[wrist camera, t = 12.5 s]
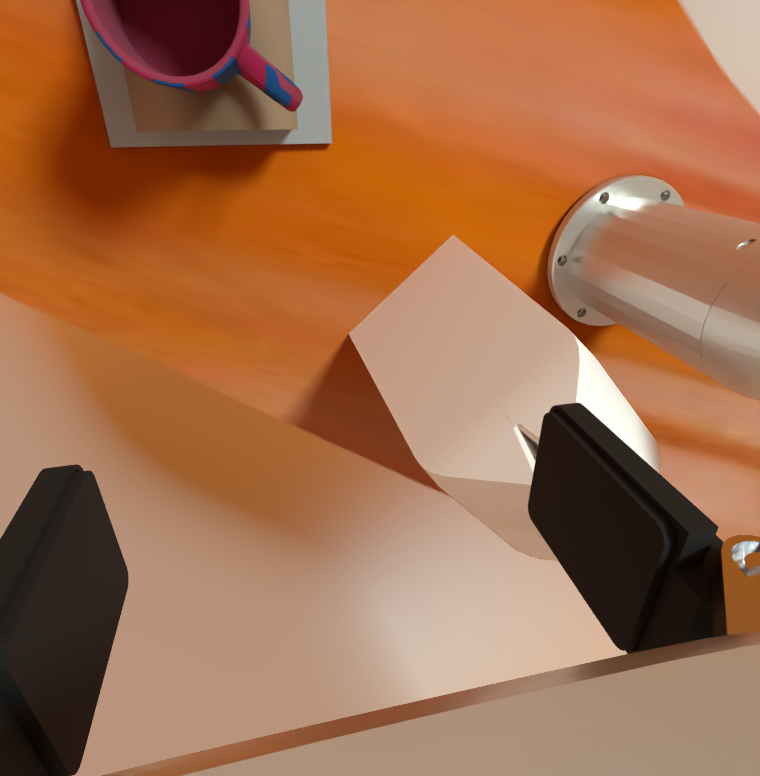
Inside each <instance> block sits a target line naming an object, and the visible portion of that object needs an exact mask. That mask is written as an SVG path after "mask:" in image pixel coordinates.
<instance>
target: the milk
mask: <svg viewBox="0 0 760 776" xmlns="http://www.w3.org/2000/svg"><path fill="white" fill-rule="evenodd" d="M349 336H350V338H351V339H352V341H353V343H354V345H355V347H356V349H357V351H358V352H359V354H360V356H361V358H362V360H363V362H364V364H365V365H366V367H367V369H368V371H369V373H370V375H371V377H372V379H373V380H374V382H375V384H376V386H377V388H378V390H379V392H380V393H381V395H382V397H383V399H384V401H385V403H386V405H387V406H388V408H389V410H390V412H391V414H392V416H393V418H394V420H395V421H396V423H397V425H398V427H399V429H400V431H401V433H402V434H403V436H404V438H405V440H406V442H407V444H408V446H409V447H410V449H411V451H412V453H413V455H414V457H415V459H416V460H417V461H418V463H419V464H420V465H421V466H422V468H423V469H424V470H425V471H426V472H427V473H428V475H429V476H430V477H431V478H432V479H433V480H434V482H435V483H436V484H437V485H438V486H439V487H440V488H441V489H442V490H444V491H445V492H446V493H447V494H448V495H450V496H451V497H452V498H453V499H454V500H456V501H457V502H458V503H460V504H461V505H462V506H463V507H464V508H465V509H467V510H468V511H469V512H470V513H471V514H473V515H474V516H475V517H477V518H478V519H479V520H480V521H481V522H483V523H484V524H485V525H486V526H487V527H489V528H490V529H491V530H492V531H493V532H495V533H496V534H497V535H498V536H499V537H501V538H502V539H503V540H504V541H506V542H507V543H508V544H509V545H510V546H512V547H513V548H514V549H515V550H517V551H520V552H522V553H525V554H527V555H530V556H533V557H536V558H539V559H545V560H555V561H558V559H557V558H556V556H555V555H554V553H553V552H552V550H551V549H550V547H549V546H548V545H547V543H546V542H545V540H544V539H543V537H542V536H541V534H540V533H539V531H538V530H537V528H536V527H535V525H534V524H533V522H532V520H531V519H530V516H529V513H528V500H529V495H530V489H531V483H532V478H533V472H534V466H535V461H536V455H537V449H538V444H539V438H540V432H541V427H542V421H543V417H544V415H545V414H546V413H549V411H550V409H551V408H552V407H553V406H554V405H561V404H569V403H581V404H582V405H584V406H585V407H586V408H587V409H588V410H589V411H590V412H591V413H592V414H594V415H595V416H596V417H597V418H598V419H599V420H600V421H601V422H602V423H604V424H605V425H606V426H607V427H608V428H609V429H610V430H611V431H612V432H614V433H615V434H616V435H617V436H618V437H619V438H620V439H621V440H622V441H624V442H625V443H626V444H627V445H628V446H629V447H630V448H631V449H632V450H633V451H635V452H636V453H637V454H638V455H639V456H640V457H641V458H642V459H643V460H645V461H646V462H647V463H648V464H649V465H650V466H651V467H652V468H653V469H655V470H656V471H657V472H658V473H659V474H660V471H661V458H660V454H659V450H658V446H657V443H656V440H655V439H654V438H653V436H652V435H651V433H650V432H649V431H648V429H647V428H646V427H645V425H644V424H643V422H642V421H641V420H640V418H639V417H638V416H637V414H636V413H635V411H634V410H633V409H632V407H631V406H630V405H629V403H628V402H627V400H626V399H625V398H624V396H623V395H622V394H621V392H620V391H619V390H618V388H617V387H616V385H615V384H614V383H613V381H612V380H611V379H610V377H609V376H608V374H607V373H606V372H605V370H604V369H603V368H602V366H601V365H600V363H599V362H598V361H597V359H596V358H595V357H594V356H593V355H592V353H591V352H590V351H589V350H588V349H587V348H586V347H585V346H584V345H583V344H582V343H581V342H580V341H579V340H578V338H577V337H576V336H575V335H574V334H573V333H572V332H571V331H570V330H569V329H568V328H567V327H566V326H565V325H563V324H562V323H561V322H560V321H558V320H557V319H556V318H555V317H553V316H552V315H551V314H550V313H549V312H547V311H546V310H545V309H544V308H542V307H541V306H540V305H539V304H538V303H536V302H535V301H534V300H533V299H531V298H530V297H529V296H528V295H527V294H525V293H524V292H523V291H522V290H520V289H519V288H518V287H517V286H515V285H514V284H513V283H512V282H511V281H509V280H508V279H507V278H506V277H504V276H503V275H502V274H501V273H500V272H498V271H497V270H496V269H495V268H493V267H492V266H491V265H490V264H489V263H487V262H486V261H485V260H484V259H482V258H481V257H480V256H479V255H478V254H476V253H475V252H474V251H473V250H471V249H470V248H469V247H468V246H466V245H465V244H464V243H463V242H462V241H460V240H459V239H458V238H457V237H455V236H454V235H452V236H451V237H450V238H449V239H448V240H447V241H446V242H445V243H444V244H443V245H441V246H440V247H439V248H438V249H437V250H436V251H435V252H434V253H433V254H432V255H431V256H430V257H429V258H428V259H427V260H426V261H425V262H424V263H423V264H421V265H420V266H419V267H418V268H417V269H416V270H415V271H414V272H413V273H412V274H411V275H410V276H409V277H408V278H407V279H406V280H405V281H404V282H403V283H401V284H400V285H399V286H398V287H397V288H396V289H395V290H394V291H393V292H392V293H391V294H390V295H389V296H388V297H387V298H386V299H385V300H384V301H382V302H381V303H380V304H379V305H378V306H377V307H376V308H375V309H374V310H373V311H372V312H371V313H370V314H369V315H368V316H367V317H366V318H365V319H364V320H362V321H361V322H360V323H359V324H358V325H357V326H356V327H355V328H354V329H353V330H352V331H351V332H350V333H349Z"/></svg>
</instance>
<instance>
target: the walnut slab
mask: <svg viewBox="0 0 760 776" xmlns="http://www.w3.org/2000/svg"><path fill="white" fill-rule="evenodd" d="M249 5H250V21H251V35H250V44H249V45H250V46H251V47H252V48H253V49H254V50H256V51H257V52H258V53H259V54H260V55H261V56H263V57H264V58H265V59H266V60H267V61H269V62H270V63H271V64H272V65H273V66H275V67H276V68H277V69H278V70H279V71H281V72H282V73H283V74H284V75H285V76H286V77H288V78H289V79H290V80H291V81H292V82H293V83H294V84H295V82H294V69H293V55H292V42H291V29H290V15H289V2H288V0H249ZM123 69H124V74H125V78H126V83H127V88H128V92H129V97H130V102H131V107H132V111H133V116H134V121H135V125H136V130H137V132H138V131H208V130H278V129H298V122H297V110H296V111H295V112H290V111H288V110H287V109H285V108H284V107H282V106H281V105H280V104H278V103H277V102H275V101H274V100H273V99H271V98H270V97H269V96H267V95H266V94H265V93H263V92H262V91H261V90H260V89H258V88H257V87H256V86H254V85H253V84H251V83H250V82H248V81H247V80H245V79H244V78H243V77H241V76H240V75H239V74H236V75H234V76H233V77H232V78H231V79H230V80H229V81H228V82H226V83H225V84H223V85H222V86H220V87H218V88H215V89H212V90H209V91H203V92H188V91H184V90H179V89H175V88H172V87H168V86H164V85H160V84H157V83H154V82H152V81H149V80H147V79H145V78H142V77H141V76H139V75H137V74H136V73H134V72H133V71H131V70H129V69H128V68H127V67H126V66H124V65H123Z"/></svg>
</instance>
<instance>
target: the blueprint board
mask: <svg viewBox="0 0 760 776" xmlns="http://www.w3.org/2000/svg"><path fill="white" fill-rule="evenodd" d="M76 2H77V6H78V11H79V15H80V19H81V23H82V27H83V32H84V36H85V40H86V44H87V48H88V53H89V57H90V61H91V65H92V70H93V74H94V78H95V82H96V86H97V91H98V95H99V99H100V103H101V107H102V112H103V116H104V120H105V124H106V128H107V133H108V137H109V141H110V145H111V148H113V147H164V146H215V145H267V144H318V143H332V132H331V111H330V90H329V68H328V47H327V26H326V4H325V0H288V2H289V15H290V29H291V42H292V55H293V69H294V82H295V85H296V86H297V87H298V88H299V89H300V90H301V92H302V95H303V99H302V102H301V104H300V106H299V107H298V108H297V122H298V129H278V130H208V131H138V132H137V130H136V125H135V121H134V116H133V111H132V107H131V102H130V97H129V92H128V88H127V83H126V78H125V74H124V69H123V64H122V63H121V62H120V61H118V60H117V59H116V58H115V57H114V56H113V55H112V54H111V53H110V52H109V50H108V49H107V48H106V47H105V46H104V45H103V44H102V42H101V41H100V39H99V38H98V36H97V35H96V33H95V32H94V30H93V29H92V27H91V25H90V23H89V21H88V19H87V17H86V15H85V13H84V11H83V8H82V5H81V2H80V0H76Z"/></svg>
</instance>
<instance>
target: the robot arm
mask: <svg viewBox="0 0 760 776" xmlns="http://www.w3.org/2000/svg"><path fill="white" fill-rule="evenodd" d="M558 258H559V259H558ZM547 277H548V283H549V289H550V291H551V294H552V296H553V299H554V300H555V302H556V303H557V305H558V306H559V307H560V309H561V310H563V311H564V312H565V313H566V314H567V315H568V316H570V317H571V318H573V319H575V320H576V321H578V322H581V323H584V324H587V325H592V326H608V325H614V324H620V325H621V326H623V327H625V328H626V329H628V330H630V331H631V332H633V333H635V334H637V335H638V336H640V337H642V338H643V339H645V340H647V341H648V342H650V343H652V344H653V345H655V346H657V347H659V348H660V349H662V350H664V351H665V352H667V353H669V354H670V355H672V356H674V357H675V358H677V359H679V360H681V361H682V362H684V363H686V364H687V365H689V366H691V367H692V368H694V369H696V370H697V371H699V372H701V373H703V374H704V375H706V376H708V377H709V378H711V379H713V380H715V381H716V382H718V383H720V384H722V385H723V386H725V387H727V388H729V389H730V390H732V391H734V392H736V393H738V394H740V395H742V396H745V397H748V398H751V399H755V400H759V401H760V224H759V223H755V222H750V221H746V220H742V219H737V218H733V217H728V216H724V215H719V214H715V213H711V212H706V211H702V210H697V209H693V208H688V207H685V205H684V202H683V200H682V198H681V197H680V195H679V194H678V193H677V192H676V190H675V189H674V188H673V187H671V186H670V185H669V184H667V183H666V182H664V181H662V180H659V179H657V178H654V177H649V176H643V175H625V176H621V177H617V178H614V179H611V180H609V181H606V182H604V183H602V184H600V185H598V186H597V187H595V188H594V189H592V190H591V191H590V192H588V193H587V194H585V195H584V196H583V197H582V198H581V199H580V200H579V201H578V202H577V203H576V204H575V205H574V206H573V207H572V208H571V210H570V211H569V212H568V214H567V215H566V216H565V218H564V219H563V221H562V223H561V224H560V226H559V228H558V230H557V232H556V234H555V236H554V239H553V242H552V245H551V247H550V252H549V257H548V263H547ZM528 513H529V516H530V519H531V520H532V522H533V524H534V525H535V527H536V528H537V530H538V531H539V533H540V534H541V536H542V537H543V539H544V540H545V542H546V543H547V545H548V546H549V547H550V549H551V550H552V552H553V553H554V555H555V556H556V558H557V559H558V561H559V562H560V564H561V565H562V567H563V568H564V570H565V571H566V573H567V574H568V576H569V577H570V579H571V580H572V582H573V583H574V585H575V586H576V588H577V589H578V591H579V592H580V594H581V595H582V596H583V598H584V600H585V601H586V603H587V604H588V605H589V607H590V608H591V610H592V611H593V613H594V614H595V616H596V617H597V619H598V620H599V622H600V623H601V625H602V626H603V628H604V629H605V631H606V632H607V634H608V635H609V637H610V638H611V640H612V641H613V643H614V644H615V645H616V646H617V647H618V648H619V649H620V650H623V651H624V650H626V652H627V653H628V654H626V655H622V656H618V657H613V658H609V659H604V660H599V661H595V662H590V663H586V664H581V665H577V666H572V667H568V668H563V669H559V670H554V671H550V672H545V673H541V674H536V675H532V676H527V677H523V678H518V679H514V680H509V681H504V682H500V683H496V684H491V685H487V686H483V687H478V688H474V689H469V690H465V691H460V692H456V693H452V694H447V695H443V696H438V697H434V698H430V699H425V700H421V701H417V702H412V703H408V704H404V705H399V706H394V707H390V708H386V709H382V710H377V711H373V712H369V713H364V714H360V715H356V716H351V717H346V718H342V719H338V720H333V721H329V722H325V723H320V724H316V725H312V726H308V727H304V728H299V729H295V730H290V731H287V732H282V733H278V734H273V735H269V736H265V737H260V738H256V739H252V740H248V741H244V742H239V743H235V744H231V745H226V746H222V747H218V748H213V749H209V750H206V751H200V752H197V753H192V754H188V755H184V756H180V757H175V758H171V759H167V760H163V761H159V762H155V763H151V764H147V765H143V766H139V767H135V768H131V769H127V770H123V771H119V772H115V773H111V774H107V775H103V776H760V537H758V536H753V535H737V536H733V537H730V538H728V539H727V540H726V541H725V542H723V541H722V540H721V539H719V538H718V537H717V536H716V535H715V534H716V532H717V530H718V526H717V525H716V524H714V523H713V522H712V521H711V520H710V519H709V518H708V517H707V516H706V515H705V514H703V513H702V512H701V511H700V510H699V509H698V508H697V507H696V506H695V505H693V504H692V503H691V502H690V501H689V500H688V499H687V498H686V497H685V496H683V495H682V494H681V493H680V492H679V491H678V490H677V489H676V488H675V487H673V486H672V485H671V484H670V483H669V482H668V481H667V480H666V479H665V478H663V477H662V476H661V475H660V474H659V473H658V472H657V471H656V470H655V469H653V468H652V467H651V466H650V465H649V464H648V463H647V462H646V461H645V460H643V459H642V458H641V457H640V456H639V455H638V454H637V453H636V452H635V451H633V450H632V449H631V448H630V447H629V446H628V445H627V444H626V443H625V442H624V441H622V440H621V439H620V438H619V437H618V436H617V435H616V434H615V433H614V432H612V431H611V430H610V429H609V428H608V427H607V426H606V425H605V424H604V423H602V422H601V421H600V420H599V419H598V418H597V417H596V416H595V415H594V414H592V413H591V412H590V411H589V410H588V409H587V408H586V407H585V406H584V405H582V404H581V403H569V404H561V405H554V406H553V407H552V408H551V409H550V411H549V413H546V414H545V415H544V417H543V421H542V427H541V432H540V438H539V444H538V449H537V455H536V461H535V466H534V472H533V478H532V483H531V489H530V495H529V500H528ZM127 588H128V571H127V567H126V564H125V561H124V559H123V556H122V553H121V550H120V547H119V544H118V542H117V538H116V536H115V533H114V530H113V527H112V524H111V521H110V519H109V516H108V513H107V510H106V507H105V504H104V501H103V499H102V496H101V493H100V490H99V487H98V485H97V482H96V479H95V476H94V474H93V473H92V472H91V471H83V469H82V468H81V467H80V465H69V466H61V467H53V468H46V469H43V470H42V471H41V472H40V473H39V475H38V477H37V478H36V480H35V482H34V483H33V485H32V487H31V488H30V490H29V492H28V494H27V495H26V497H25V498H24V500H23V502H22V504H21V505H20V507H19V509H18V510H17V512H16V514H15V515H14V517H13V519H12V521H11V522H10V524H9V525H8V527H7V529H6V531H5V532H4V534H3V536H2V537H1V539H0V776H72V775H75V774H76V772H77V771H78V769H79V767H80V764H81V761H82V758H83V754H84V750H85V746H86V743H87V739H88V735H89V731H90V728H91V724H92V720H93V716H94V712H95V708H96V705H97V701H98V697H99V694H100V690H101V686H102V682H103V678H104V675H105V671H106V667H107V664H108V660H109V656H110V652H111V649H112V645H113V641H114V637H115V634H116V630H117V626H118V622H119V619H120V615H121V611H122V607H123V604H124V600H125V596H126V592H127Z"/></svg>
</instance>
